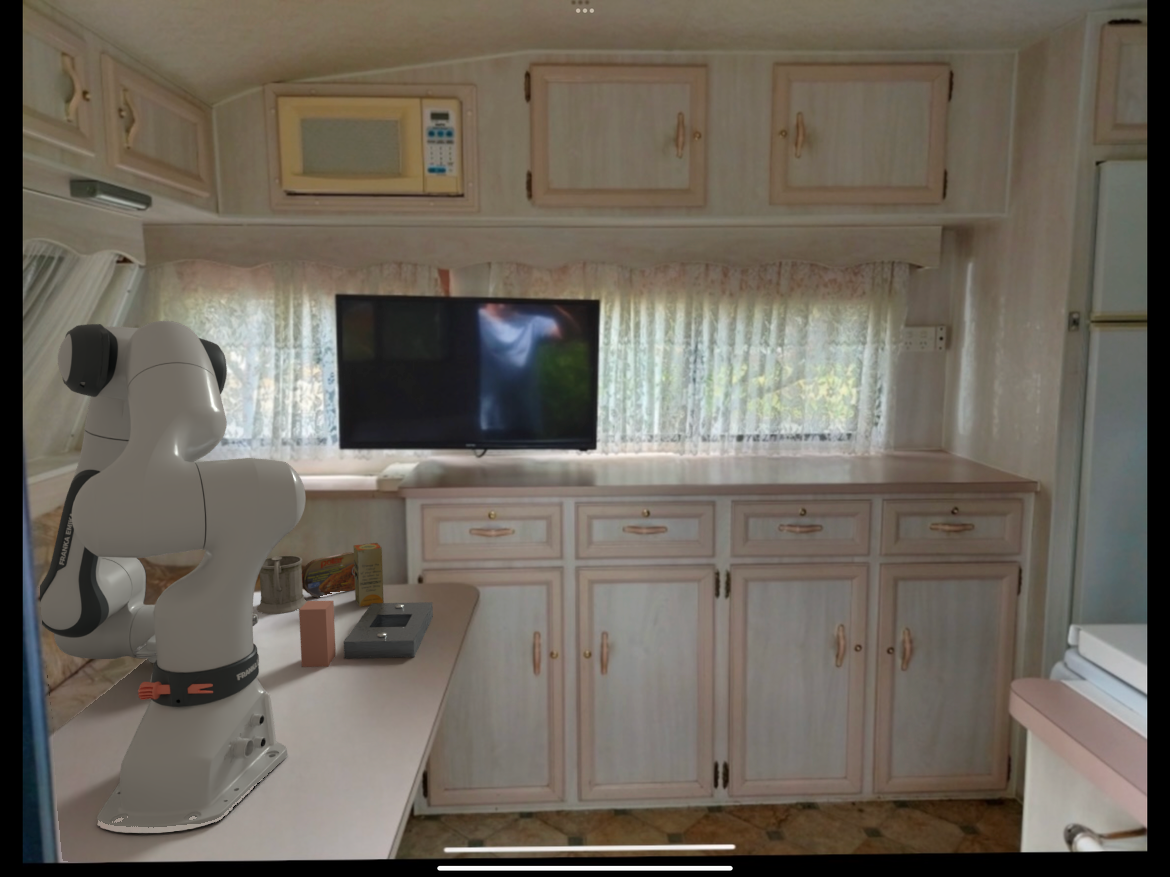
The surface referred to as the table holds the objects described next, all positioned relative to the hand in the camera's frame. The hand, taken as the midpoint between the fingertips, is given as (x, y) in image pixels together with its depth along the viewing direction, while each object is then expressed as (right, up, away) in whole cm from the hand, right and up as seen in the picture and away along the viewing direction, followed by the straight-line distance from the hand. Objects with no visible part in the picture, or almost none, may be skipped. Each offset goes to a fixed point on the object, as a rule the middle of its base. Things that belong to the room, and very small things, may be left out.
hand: (245, 629), depth 126 cm
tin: (+3, -2, +38) cm, 39 cm away
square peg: (+12, -6, +1) cm, 14 cm away
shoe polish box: (+12, -2, +32) cm, 34 cm away
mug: (-5, -3, +27) cm, 28 cm away
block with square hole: (+22, -4, +12) cm, 25 cm away
